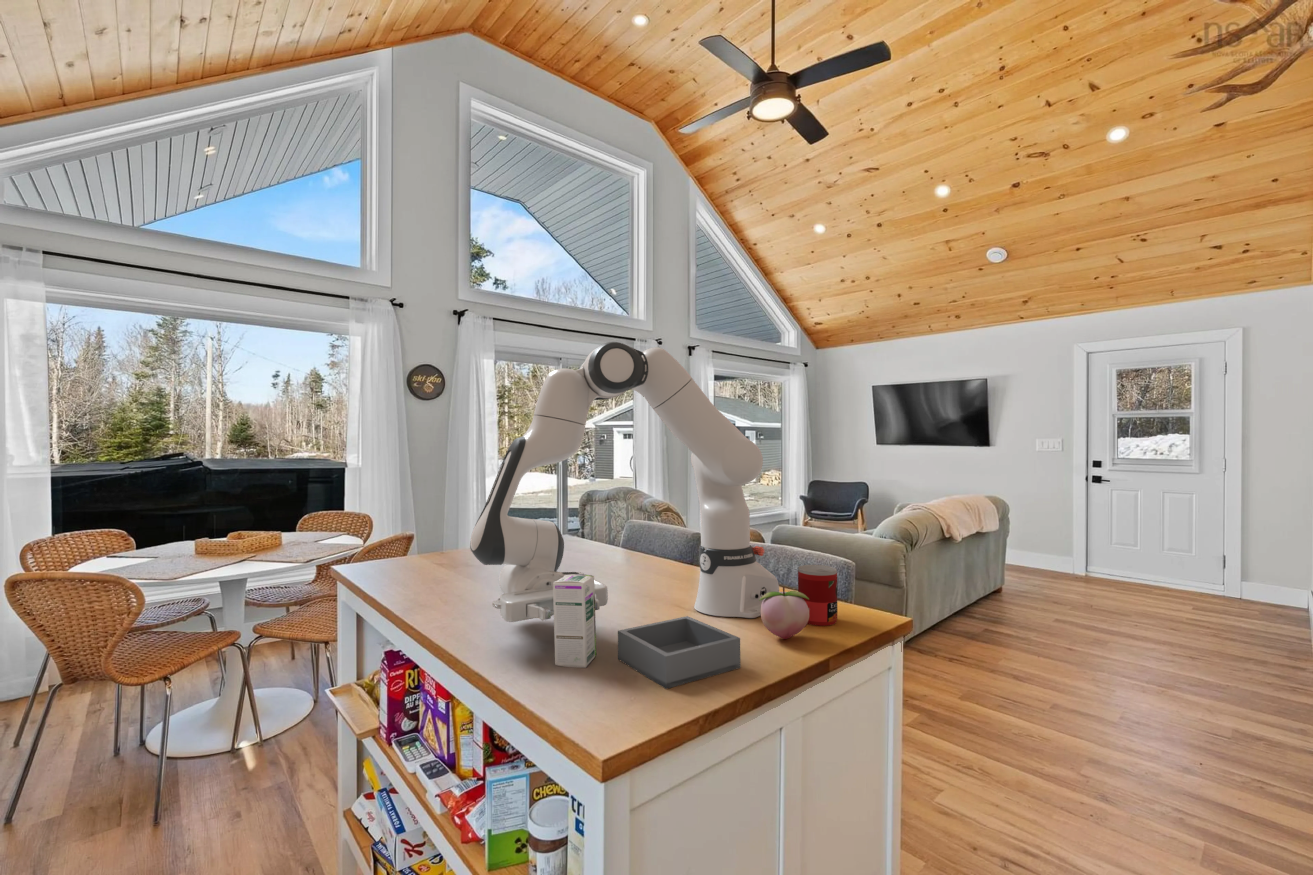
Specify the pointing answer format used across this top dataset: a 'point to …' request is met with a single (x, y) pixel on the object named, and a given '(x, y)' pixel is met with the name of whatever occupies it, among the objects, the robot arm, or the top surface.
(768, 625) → the decorative fruit
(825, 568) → the canned food
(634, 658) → the bin
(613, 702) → the top surface
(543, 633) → the top surface
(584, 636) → the syrup box
